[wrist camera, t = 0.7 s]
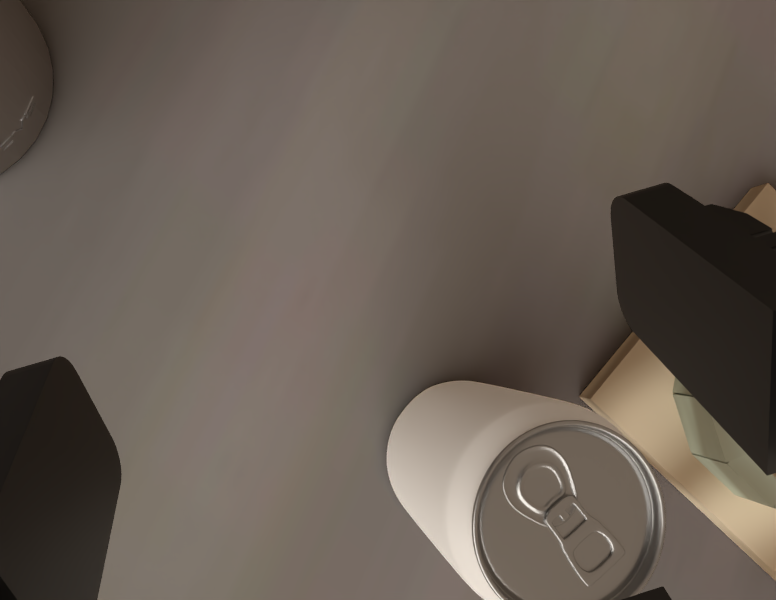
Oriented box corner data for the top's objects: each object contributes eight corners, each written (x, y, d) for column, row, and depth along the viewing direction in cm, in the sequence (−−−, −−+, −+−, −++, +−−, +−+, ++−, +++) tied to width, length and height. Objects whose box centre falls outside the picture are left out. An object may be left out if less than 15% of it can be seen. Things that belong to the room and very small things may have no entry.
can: (468, 348, 32) (587, 356, 21) (558, 463, 33) (724, 534, 21) (353, 445, 31) (408, 511, 20) (447, 561, 32) (556, 695, 20)
